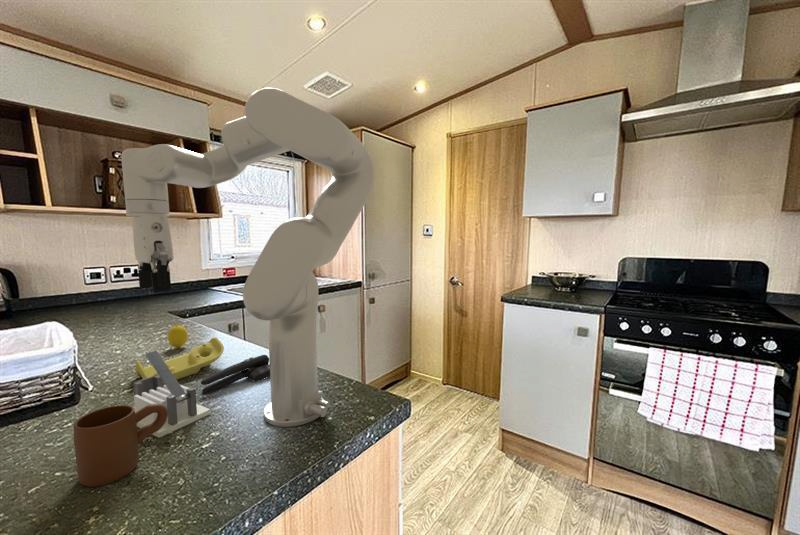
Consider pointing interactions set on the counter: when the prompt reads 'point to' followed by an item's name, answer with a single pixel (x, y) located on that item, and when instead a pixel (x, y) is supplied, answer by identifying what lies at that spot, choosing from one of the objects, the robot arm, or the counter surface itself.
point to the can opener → (249, 368)
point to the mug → (112, 442)
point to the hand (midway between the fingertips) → (155, 288)
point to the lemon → (177, 336)
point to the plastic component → (186, 361)
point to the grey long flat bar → (167, 376)
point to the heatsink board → (166, 405)
